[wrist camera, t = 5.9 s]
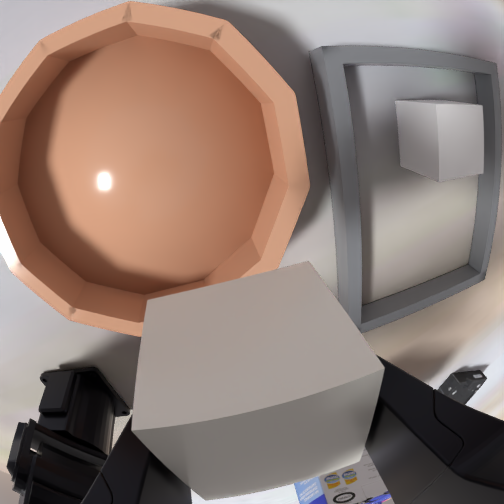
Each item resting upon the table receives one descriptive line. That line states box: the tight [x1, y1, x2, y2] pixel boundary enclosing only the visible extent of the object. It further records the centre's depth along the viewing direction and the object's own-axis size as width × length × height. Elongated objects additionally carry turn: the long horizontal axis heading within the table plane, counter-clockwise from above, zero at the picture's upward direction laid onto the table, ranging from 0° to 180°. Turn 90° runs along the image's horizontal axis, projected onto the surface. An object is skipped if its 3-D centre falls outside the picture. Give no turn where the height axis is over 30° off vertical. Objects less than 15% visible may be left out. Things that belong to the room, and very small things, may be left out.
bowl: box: [0, 1, 310, 337], centre depth 14 cm, size 16×16×4 cm
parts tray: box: [309, 46, 502, 333], centre depth 18 cm, size 19×15×2 cm
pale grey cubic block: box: [395, 100, 484, 182], centre depth 15 cm, size 4×4×4 cm
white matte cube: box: [131, 261, 385, 500], centre depth 7 cm, size 4×4×4 cm
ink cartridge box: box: [294, 447, 392, 504], centre depth 22 cm, size 10×6×14 cm, turn 78°
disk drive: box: [438, 370, 487, 405], centre depth 36 cm, size 10×3×15 cm
